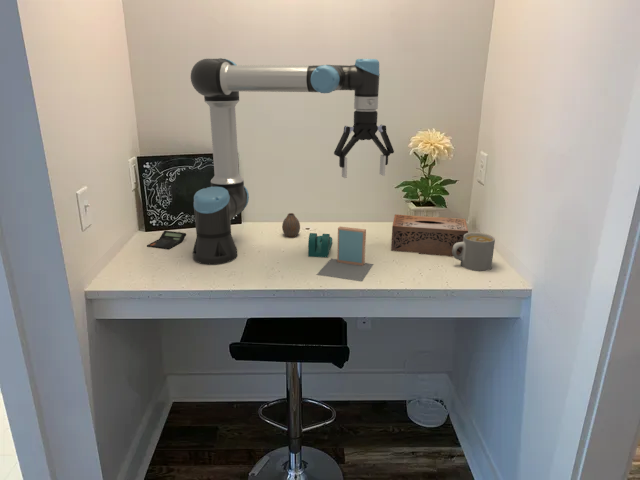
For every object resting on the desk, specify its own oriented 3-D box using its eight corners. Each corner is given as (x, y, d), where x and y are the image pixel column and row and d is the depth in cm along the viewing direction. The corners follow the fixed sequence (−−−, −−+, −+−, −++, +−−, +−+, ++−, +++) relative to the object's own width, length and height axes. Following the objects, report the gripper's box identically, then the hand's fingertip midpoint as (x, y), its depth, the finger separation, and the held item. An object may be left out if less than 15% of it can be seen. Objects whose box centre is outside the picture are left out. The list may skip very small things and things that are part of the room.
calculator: (147, 247, 184) (146, 239, 183) (165, 237, 194) (165, 230, 193) (169, 250, 181) (168, 242, 180) (186, 240, 192) (186, 232, 191)
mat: (316, 275, 160) (316, 274, 160) (331, 259, 173) (331, 258, 173) (362, 282, 155) (362, 281, 155) (373, 265, 168) (373, 264, 168)
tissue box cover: (390, 252, 181) (392, 225, 177) (393, 239, 194) (394, 214, 191) (465, 258, 176) (468, 230, 172) (462, 244, 189) (465, 218, 186)
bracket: (327, 259, 174) (327, 237, 171) (308, 258, 175) (308, 236, 172) (333, 241, 191) (333, 221, 188) (315, 240, 192) (315, 221, 189)
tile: (337, 262, 170) (337, 228, 166) (339, 259, 172) (339, 226, 168) (363, 265, 167) (364, 231, 163) (364, 263, 169) (366, 229, 165)
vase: (280, 233, 199) (280, 212, 196) (297, 232, 201) (297, 210, 198) (284, 239, 192) (284, 217, 190) (302, 237, 194) (302, 215, 192)
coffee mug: (488, 260, 173) (491, 233, 170) (493, 271, 164) (497, 243, 160) (448, 258, 175) (451, 231, 171) (451, 269, 165) (454, 240, 162)
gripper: (332, 112, 153) (331, 180, 160) (406, 110, 160) (402, 176, 168) (324, 109, 160) (324, 175, 167) (396, 108, 167) (392, 171, 174)
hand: (363, 176), depth 167 cm, fingers open, 13 cm apart
